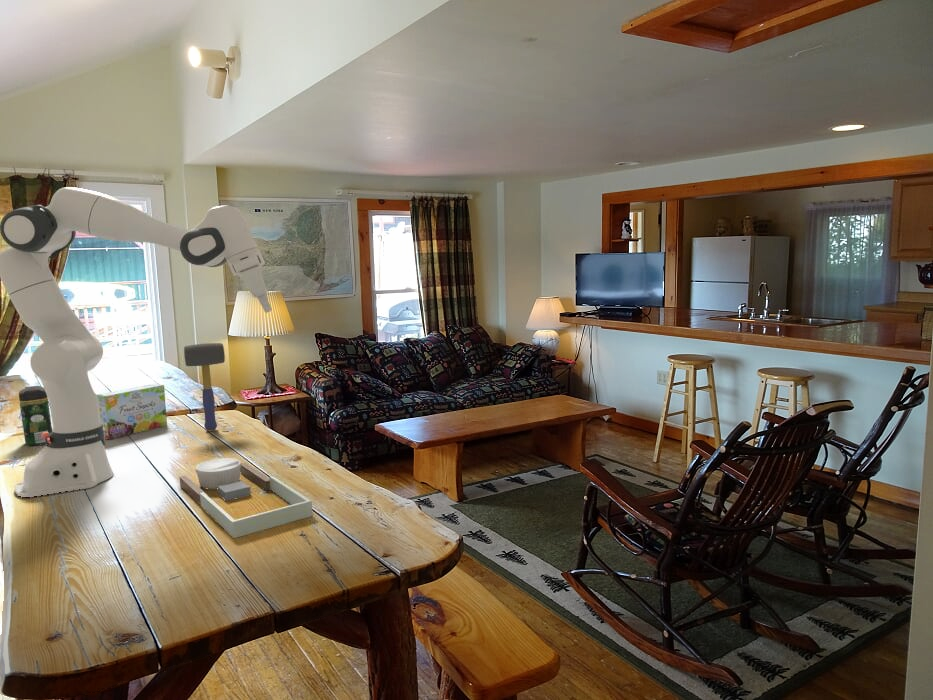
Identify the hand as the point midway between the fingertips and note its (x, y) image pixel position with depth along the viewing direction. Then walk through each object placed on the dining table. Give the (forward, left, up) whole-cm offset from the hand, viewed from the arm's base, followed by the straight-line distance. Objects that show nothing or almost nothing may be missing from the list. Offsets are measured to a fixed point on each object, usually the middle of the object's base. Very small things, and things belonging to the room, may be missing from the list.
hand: (268, 311), depth 178 cm
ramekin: (-17, -3, -43) cm, 47 cm away
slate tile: (-17, -14, -44) cm, 49 cm away
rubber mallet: (-2, +54, -43) cm, 69 cm away
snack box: (-22, +72, -43) cm, 87 cm away
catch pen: (-17, -28, -43) cm, 54 cm away
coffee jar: (-50, +80, -43) cm, 104 cm away
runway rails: (-17, -7, -43) cm, 47 cm away
